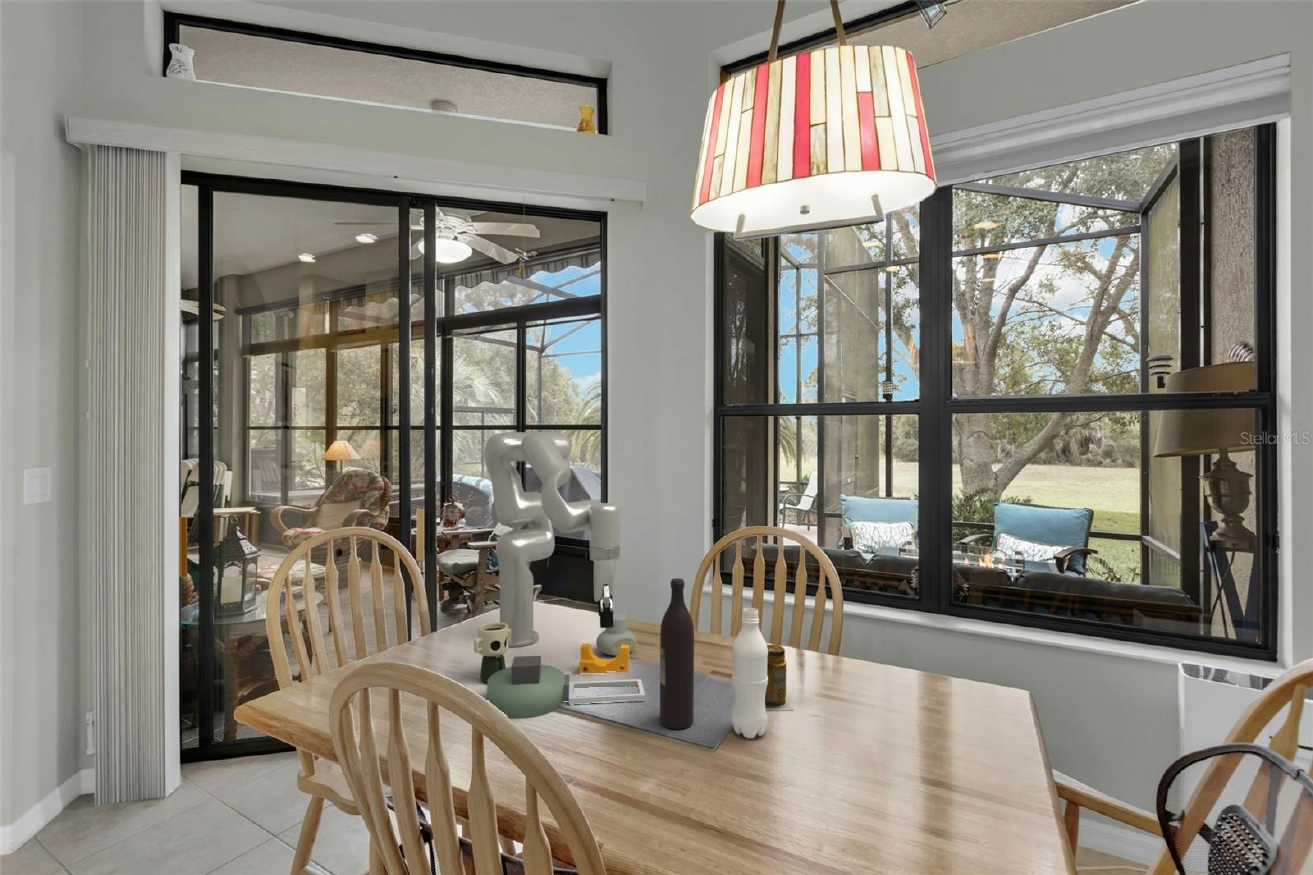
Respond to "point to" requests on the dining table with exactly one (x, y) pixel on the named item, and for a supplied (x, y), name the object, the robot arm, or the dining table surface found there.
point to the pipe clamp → (603, 661)
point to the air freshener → (616, 636)
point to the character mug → (492, 647)
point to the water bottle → (750, 677)
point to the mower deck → (544, 689)
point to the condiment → (776, 680)
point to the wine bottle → (677, 662)
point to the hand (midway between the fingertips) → (605, 621)
